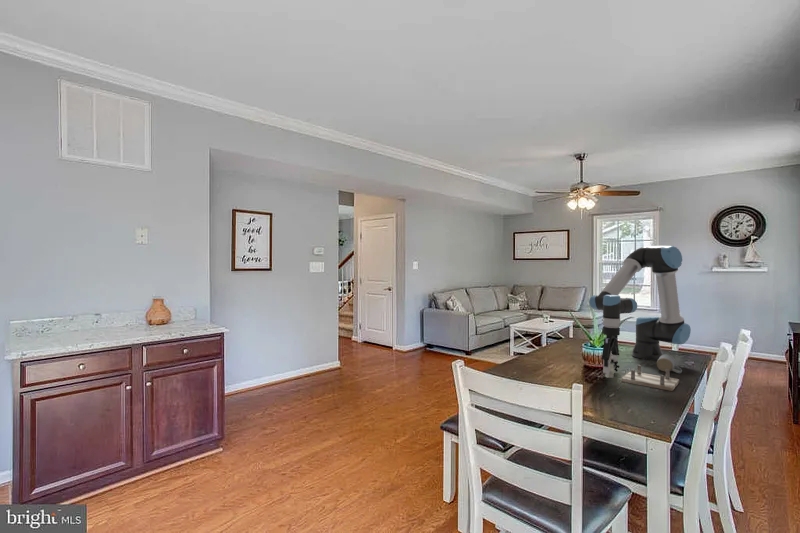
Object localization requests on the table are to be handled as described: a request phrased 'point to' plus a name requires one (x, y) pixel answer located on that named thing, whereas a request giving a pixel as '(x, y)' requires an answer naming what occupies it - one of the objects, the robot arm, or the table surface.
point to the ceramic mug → (668, 364)
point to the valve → (612, 369)
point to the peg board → (651, 379)
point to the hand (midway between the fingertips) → (610, 370)
